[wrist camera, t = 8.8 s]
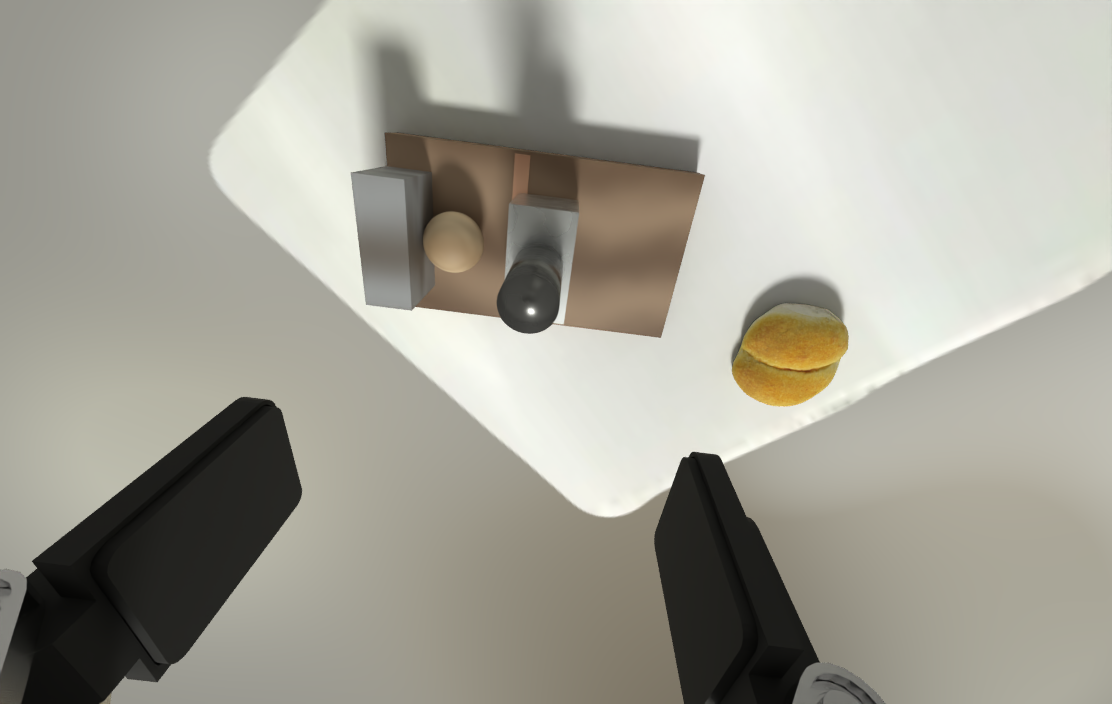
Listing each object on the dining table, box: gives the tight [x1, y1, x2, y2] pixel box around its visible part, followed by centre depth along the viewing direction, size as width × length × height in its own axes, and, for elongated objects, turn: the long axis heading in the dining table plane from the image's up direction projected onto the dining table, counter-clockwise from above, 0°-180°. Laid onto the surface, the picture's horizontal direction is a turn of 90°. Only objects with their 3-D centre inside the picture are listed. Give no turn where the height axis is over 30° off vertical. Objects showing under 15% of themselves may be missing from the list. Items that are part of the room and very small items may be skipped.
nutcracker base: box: [351, 133, 705, 338], centre depth 28 cm, size 12×21×7 cm, turn 83°
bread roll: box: [732, 303, 849, 406], centre depth 33 cm, size 8×9×4 cm
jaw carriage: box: [497, 193, 579, 334], centre depth 24 cm, size 7×4×11 cm, turn 173°
